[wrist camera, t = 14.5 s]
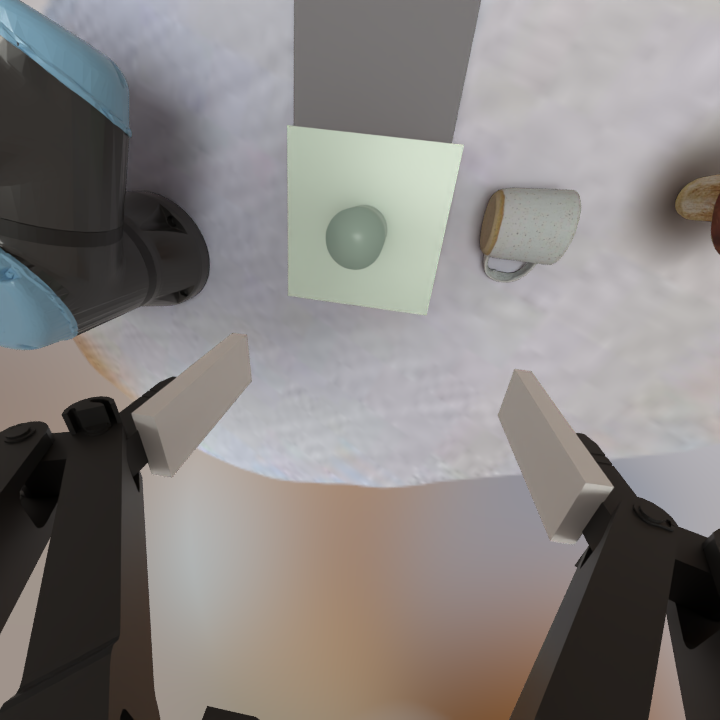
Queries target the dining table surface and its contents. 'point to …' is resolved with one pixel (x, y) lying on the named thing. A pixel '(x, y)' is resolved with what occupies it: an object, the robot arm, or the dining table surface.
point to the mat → (382, 65)
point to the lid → (367, 216)
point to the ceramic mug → (528, 228)
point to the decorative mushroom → (702, 204)
